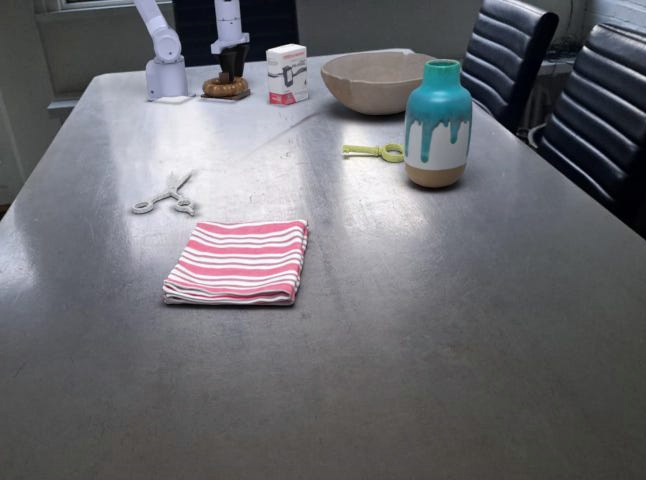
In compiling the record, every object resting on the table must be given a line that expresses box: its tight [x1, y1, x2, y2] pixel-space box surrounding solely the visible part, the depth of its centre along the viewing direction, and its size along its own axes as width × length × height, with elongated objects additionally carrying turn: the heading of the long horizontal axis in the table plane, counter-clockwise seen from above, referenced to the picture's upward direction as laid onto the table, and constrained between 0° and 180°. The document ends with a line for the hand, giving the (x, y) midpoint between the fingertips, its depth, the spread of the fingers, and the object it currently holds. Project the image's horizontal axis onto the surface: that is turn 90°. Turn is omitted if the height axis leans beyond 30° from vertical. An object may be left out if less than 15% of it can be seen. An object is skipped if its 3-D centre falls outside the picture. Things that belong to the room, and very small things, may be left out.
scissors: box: [131, 170, 195, 216], centre depth 117 cm, size 11×1×20 cm
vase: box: [403, 58, 473, 188], centre depth 110 cm, size 11×11×19 cm
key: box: [342, 142, 404, 163], centre depth 127 cm, size 7×12×2 cm, turn 102°
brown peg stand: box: [199, 71, 252, 101], centre depth 168 cm, size 9×9×6 cm
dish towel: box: [161, 218, 310, 306], centre depth 93 cm, size 17×23×4 cm
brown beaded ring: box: [201, 76, 249, 97], centre depth 168 cm, size 11×11×3 cm
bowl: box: [320, 51, 438, 116], centre depth 149 cm, size 26×26×10 cm
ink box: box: [265, 43, 309, 106], centre depth 160 cm, size 8×5×12 cm, turn 134°
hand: (234, 78), depth 170 cm, fingers open, 4 cm apart
